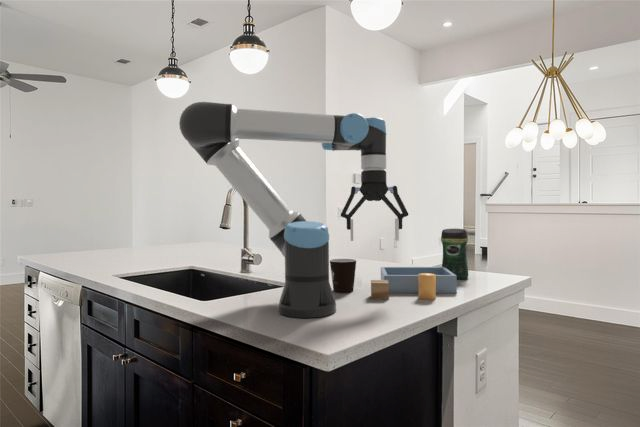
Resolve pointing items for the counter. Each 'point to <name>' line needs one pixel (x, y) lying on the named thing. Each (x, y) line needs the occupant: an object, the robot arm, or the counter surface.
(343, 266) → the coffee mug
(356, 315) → the counter surface
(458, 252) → the coffee jar
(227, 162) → the robot arm
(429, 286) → the orange cylinder
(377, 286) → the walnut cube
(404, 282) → the tote
